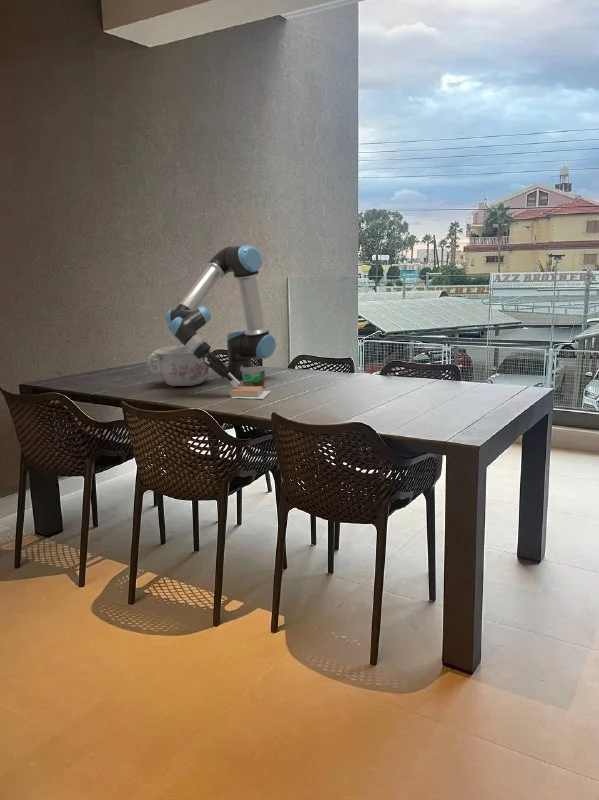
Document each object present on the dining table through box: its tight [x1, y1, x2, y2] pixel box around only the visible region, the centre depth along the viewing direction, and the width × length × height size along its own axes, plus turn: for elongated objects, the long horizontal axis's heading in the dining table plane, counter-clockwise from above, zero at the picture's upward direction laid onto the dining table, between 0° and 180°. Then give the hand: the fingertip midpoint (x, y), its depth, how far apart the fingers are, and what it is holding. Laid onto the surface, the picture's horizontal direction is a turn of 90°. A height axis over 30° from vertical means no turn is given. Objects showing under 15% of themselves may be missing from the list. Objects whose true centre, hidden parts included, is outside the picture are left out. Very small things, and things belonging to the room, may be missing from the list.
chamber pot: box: [146, 341, 213, 387], centre depth 305 cm, size 28×28×21 cm
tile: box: [229, 385, 264, 397], centre depth 277 cm, size 10×2×12 cm
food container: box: [240, 365, 267, 388], centre depth 293 cm, size 12×6×10 cm, turn 71°
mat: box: [230, 390, 272, 400], centre depth 277 cm, size 16×14×1 cm
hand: (237, 385), depth 277 cm, fingers closed
